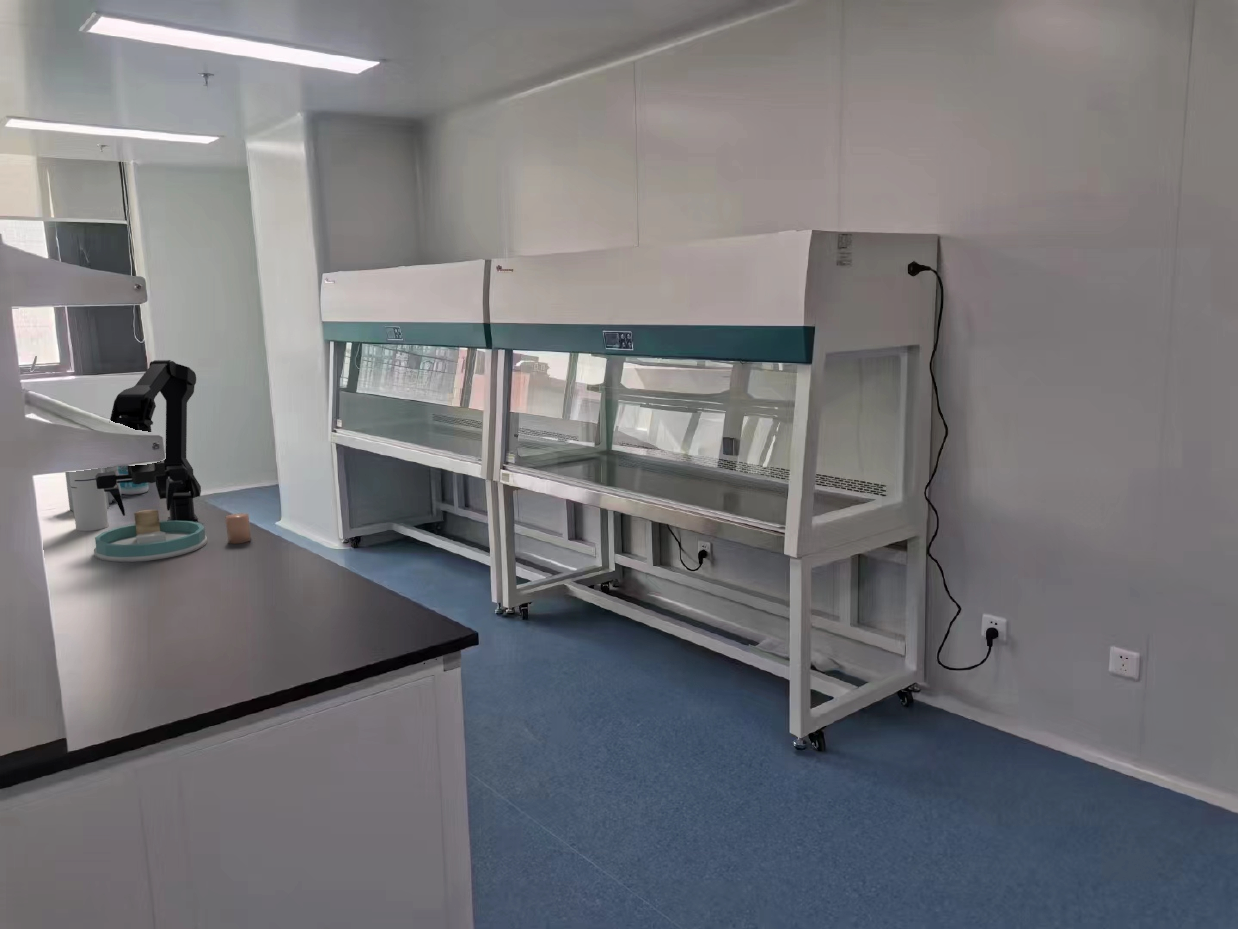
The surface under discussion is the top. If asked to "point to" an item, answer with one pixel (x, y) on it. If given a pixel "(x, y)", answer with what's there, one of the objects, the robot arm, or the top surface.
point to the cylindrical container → (88, 501)
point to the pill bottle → (131, 484)
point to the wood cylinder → (147, 521)
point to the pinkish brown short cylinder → (238, 528)
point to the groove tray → (150, 542)
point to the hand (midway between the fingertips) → (146, 512)
